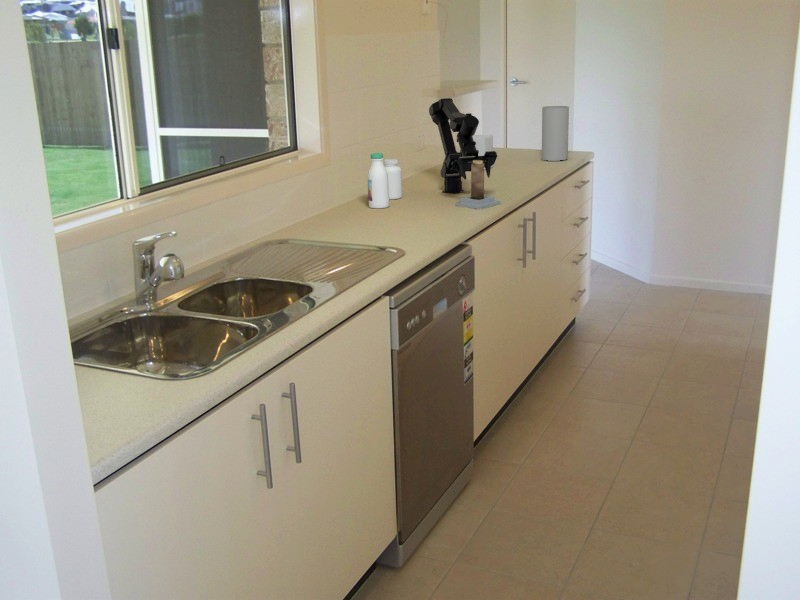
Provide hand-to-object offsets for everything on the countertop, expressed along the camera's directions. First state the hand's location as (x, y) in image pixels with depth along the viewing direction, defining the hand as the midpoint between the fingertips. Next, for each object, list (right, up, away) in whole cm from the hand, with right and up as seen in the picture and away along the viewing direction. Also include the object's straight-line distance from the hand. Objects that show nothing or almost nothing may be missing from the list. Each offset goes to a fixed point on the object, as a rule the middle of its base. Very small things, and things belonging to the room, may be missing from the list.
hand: (477, 178), depth 321 cm
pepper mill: (0, -8, +3) cm, 9 cm away
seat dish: (0, -10, +3) cm, 10 cm away
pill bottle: (-32, -5, +22) cm, 39 cm away
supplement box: (+9, +16, +84) cm, 86 cm away
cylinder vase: (+46, +23, +100) cm, 113 cm away
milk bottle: (-37, -10, +6) cm, 38 cm away
